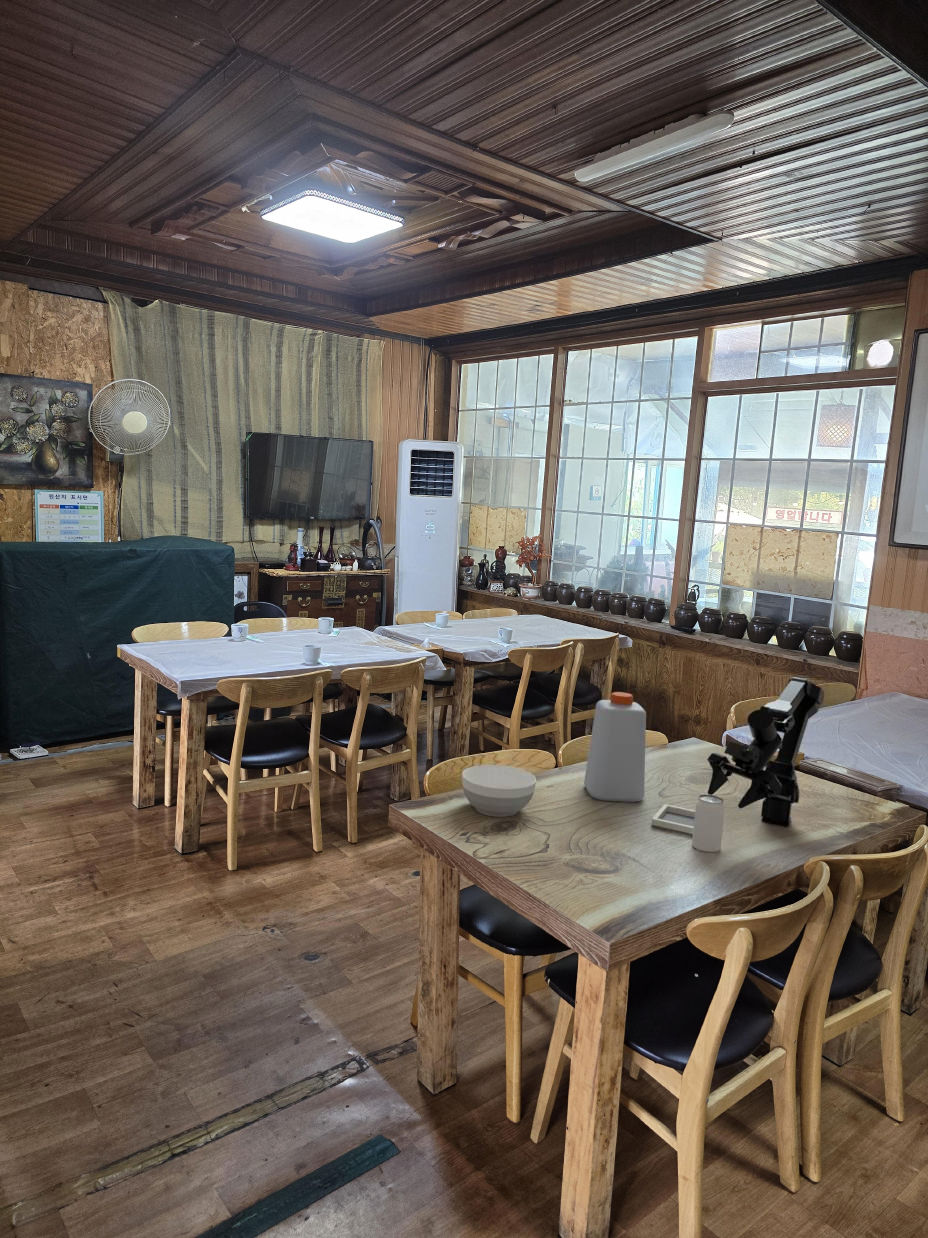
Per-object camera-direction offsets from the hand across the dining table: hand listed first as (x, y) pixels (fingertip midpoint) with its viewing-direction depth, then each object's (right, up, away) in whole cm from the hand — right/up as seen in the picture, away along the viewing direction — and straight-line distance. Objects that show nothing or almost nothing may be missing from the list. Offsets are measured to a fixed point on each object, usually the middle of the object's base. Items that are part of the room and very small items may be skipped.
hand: (723, 800), depth 198 cm
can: (-4, -11, -1) cm, 12 cm away
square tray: (-6, -9, +13) cm, 17 cm away
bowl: (-53, -6, +16) cm, 56 cm away
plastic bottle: (-20, -5, +34) cm, 40 cm away
